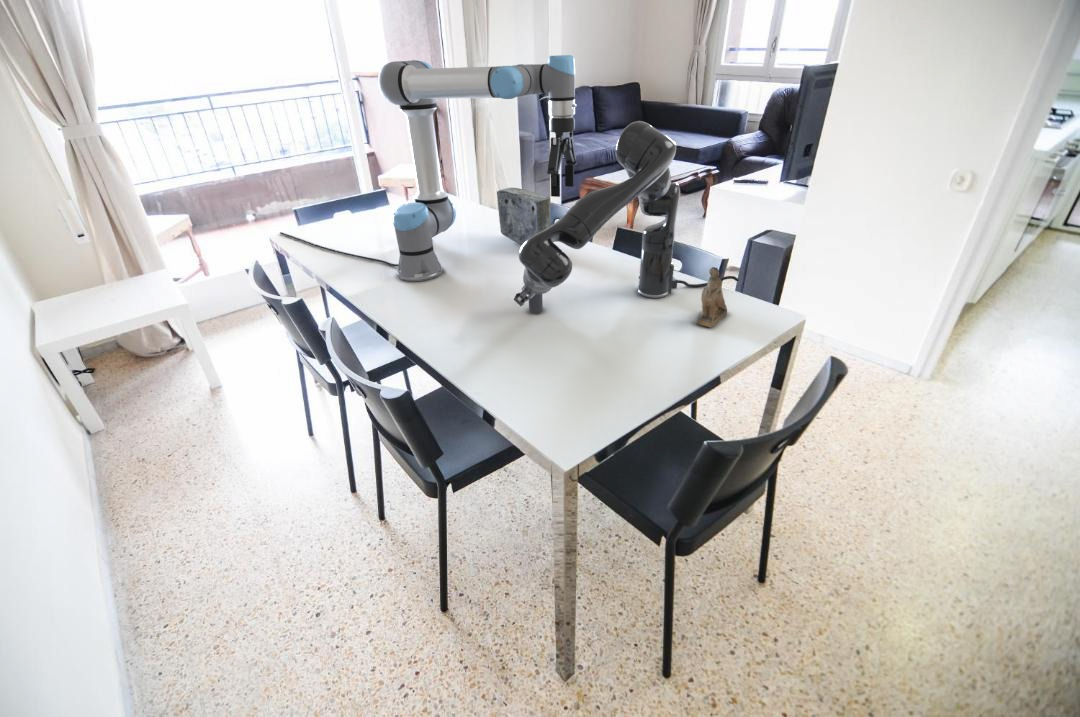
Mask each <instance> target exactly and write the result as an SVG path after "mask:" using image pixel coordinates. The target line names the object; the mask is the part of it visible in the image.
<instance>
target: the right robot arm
mask: <svg viewBox="0 0 1080 717" xmlns="http://www.w3.org/2000/svg"><path fill="white" fill-rule="evenodd" d="M676 153H677V144H676V142H675V141H674V140H672V139H671V138H670V137H669V136H667V135H666V134H664V133H663V132H661V131H660V130H658V129H657V128H656V127H654V126H652V125H651V124H649V123H648V122H645V121H643V120H637V121H633V122H631V123H629V124H628V125H627V126H626V127H625V128H624V129H623V130H622V131H621V133H620V134H619V137H618V139H617V141H616V145H615V159H616V161H617V162H618V163H619V164H620V165H621V166H622V168H623V169H624V170H625V171H626V174H627V176H628V179H626V180H624V181H621V182H619V183H617V184H614V185H610V186H607V187H602V188H600V189H599V188H598V189H596V190H593V191H590V192H588V193H586V194H585V195H583V196H582V197H580V198H579V199H578V200H577V201H575V203H573V205H572V206H571V207H570V208H569V209H568V210H567V211H566V212H565V213H564V214H563V215H562V216H561V217H560V218H559V219H558V220H557V221H555V222H554V223H553V224H550V227H548V228H547V229H545V230H543V231H541V232H539V233H537V234H535V235H534V236H532V237H530V238H529V239H528V240H526V241H525V242H524V243H523V245H521V246H520V248H519V252H518V260H519V262H520V263H521V265H523V267H524V270H523V276H522V281H523V284H524V285H523V286H522V287H521V291H520V292H517V293H516V294H515V296H514V298H513V301H514V302H516V304H518V305H519V307H523V306H524V304H525V303H526V302H529V301H528V300H529V298H532V297H533V296H534V295H535V294H542V295H544V294H547V293H548V292H550V291H551V290H552V289H553V288H556V287H558V286H561V284H563V283H564V282H565V281H566V280H567V279H568V278H569V277H570V276H571V273H572V271H573V263H572V260H571V258H570V256H568V254H566V253H565V252H564V251H563V250H562V249H561V248H560V247H559V246H558V245H557V244H556V243H555V242H559V243H561V244H564V245H565V246H567V247H569V248H571V249H574V250H580V249H582V248H584V247H585V246H586V245H587V244H588V242H589V241H591V239H592V238H593V237H594V236H595V235H596V234H598V232H599V231H600V230H601V229H602V227H604V225H605V224H607V222H609V221H610V220H611V219H612V217H614V216H615V215H616V214H618V213H619V212H620V211H621V210H622V209H623V208H625V207H626V206H627V205H628V204H630V203H632V201H634V200H635V199H636V198H637V197H638V203H639V208H640V211H641V213H642V214H643V215H644V216H649V217H664V219H663V220H662V221H660V222H658V223H655V224H651V225H648V226H646V227H645V228H644V229H643V230H642V238H641V251H640V265H639V276H638V288H637V292H638V294H639V295H640V296H643V297H644V298H649V299H660V298H665V297H667V296H668V295H672V290H676V289H677V288H678V284H681V285H684V286H686V287H688V288H701V287H703V288H704V287H707V284H708V282H703V283H697V284H694V283H693V284H692V283H688V282H687V281H685V280H682V279H677V278H675V277H674V270H675V264H674V263H673V252H674V245H675V244H674V243H675V235H676V224H677V216H678V211H679V205H680V198H681V187H680V184H678V183H677V182H672V177H671V176H672V175H671V170H670V165H671V164H672V162H673V160H674V158H675V156H676ZM719 278H720V279H721V281H725V280H734V281H735V282H740V279H739V278H738V277H736V276H734V275H726V276H722V277H719Z"/></svg>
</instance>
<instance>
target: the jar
mask: <svg viewBox="0 0 1080 717" xmlns="http://www.w3.org/2000/svg"><path fill="white" fill-rule="evenodd" d="M543 300H544V299H543V294H535V295H534V296H533V297H532V298H529V300H528V301H527V302H528V312H529V313H530V314H532V315H539V314H541V313H543V311H544V303H543V302H544V301H543Z"/></svg>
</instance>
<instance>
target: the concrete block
mask: <svg viewBox="0 0 1080 717" xmlns="http://www.w3.org/2000/svg"><path fill="white" fill-rule="evenodd" d="M496 197H497V208H498V220H499V221H498V222H499V228H500V233H501V235H503V236H504V237H506V238H508V239H510V240H511V241H513V242H515V243H517V244H519V245H521V246H522V245H523V243H524V242H525V241H526V240H528V239H529V238H530V237H532V236H534V235H535V234H537V233H539V232H541V231H543V230H545V229H547V228H548V227H550V226H551V198H550V197H549V196H548V195H544V194H542V193H539V192H536V191H533V190H528V189H524V188H518V187H507V188H502V189H499V190H497V191H496Z"/></svg>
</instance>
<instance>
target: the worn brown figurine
mask: <svg viewBox="0 0 1080 717" xmlns="http://www.w3.org/2000/svg"><path fill="white" fill-rule="evenodd" d="M708 273H709V275H710V276H709V278H708V279H707V280H708V281H707V283H708V284H707V286H704V287H703V290H702V292H701V297H700V298H701V309H702V312H701V315H700V316H699V317H698V318H697V319H696V321H695V324H696V325H699V326H703V327H705V328H712V327H714V326H715V325H716V324H717V323H719V321H721V320H722V319H723V318H725V317H726V316H727V315H728V307H727V304H726V301H725V298H724V293H723V290H722V287H723V280H721V279H720V278H721V277H720V270H719V269H718V268H717V267H715V266H712V267H711V268H710V269H709V270H708Z"/></svg>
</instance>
